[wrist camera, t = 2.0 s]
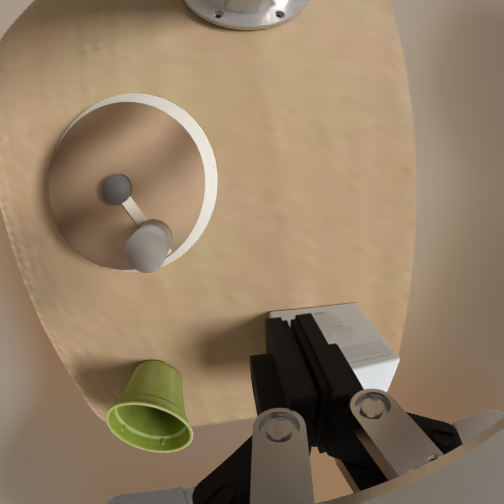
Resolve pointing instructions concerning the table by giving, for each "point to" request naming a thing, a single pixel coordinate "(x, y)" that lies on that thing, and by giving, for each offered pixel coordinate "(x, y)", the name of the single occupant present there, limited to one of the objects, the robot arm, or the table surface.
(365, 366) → the skincare box
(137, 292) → the table surface
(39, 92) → the table surface
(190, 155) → the dial
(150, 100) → the stand
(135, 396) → the plant pot
